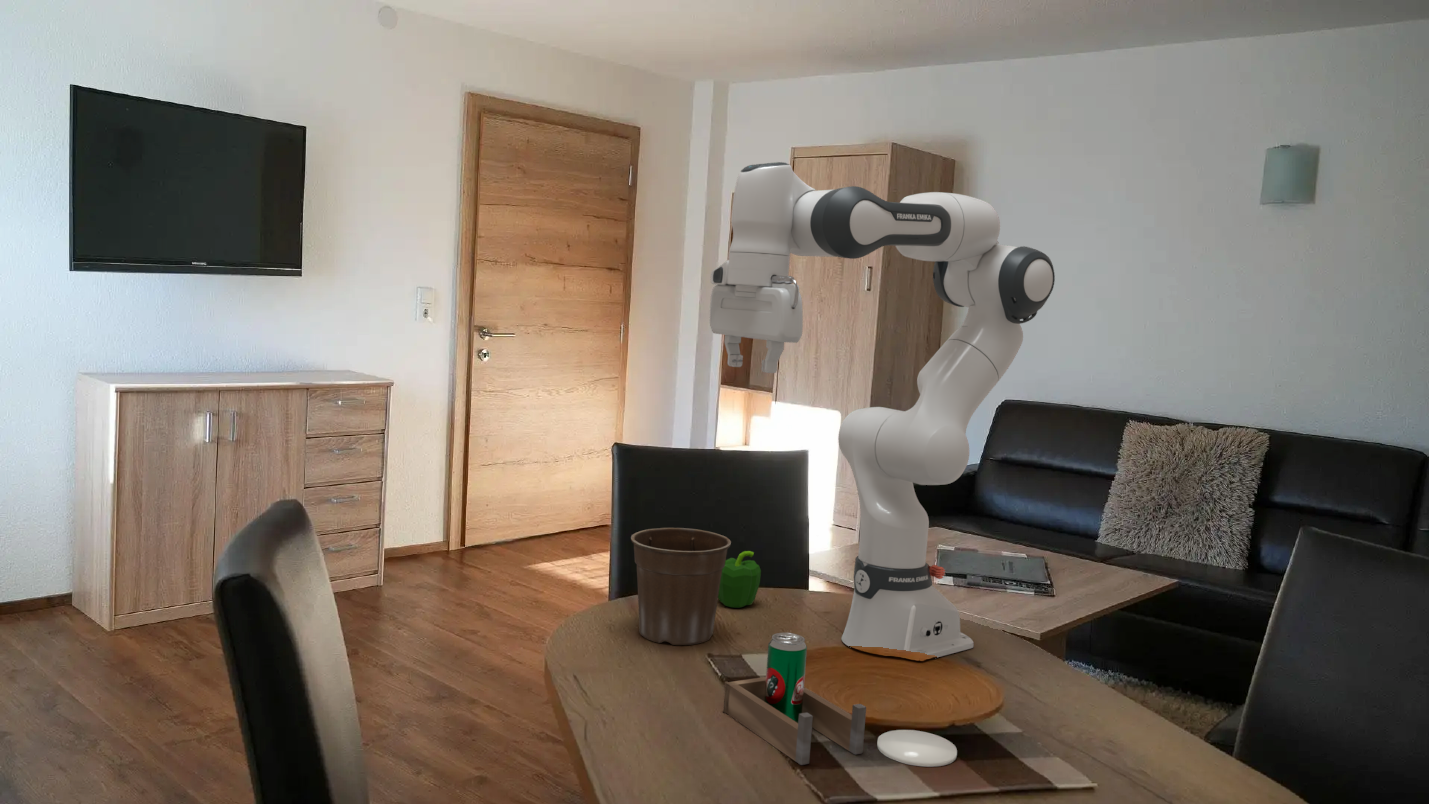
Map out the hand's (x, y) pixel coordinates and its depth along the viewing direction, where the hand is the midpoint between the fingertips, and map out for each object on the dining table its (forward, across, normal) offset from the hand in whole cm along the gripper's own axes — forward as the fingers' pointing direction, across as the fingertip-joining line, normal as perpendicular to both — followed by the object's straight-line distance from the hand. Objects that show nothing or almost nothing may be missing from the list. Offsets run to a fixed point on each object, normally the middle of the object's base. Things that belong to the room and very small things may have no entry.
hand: (751, 369), depth 163 cm
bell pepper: (+46, +30, -19) cm, 58 cm away
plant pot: (+46, +18, 0) cm, 49 cm away
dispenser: (+45, -22, +5) cm, 51 cm away
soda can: (+46, -21, +5) cm, 50 cm away
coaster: (+45, -34, -7) cm, 57 cm away
